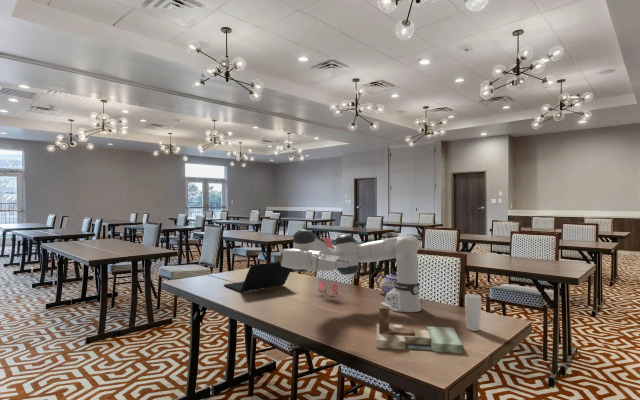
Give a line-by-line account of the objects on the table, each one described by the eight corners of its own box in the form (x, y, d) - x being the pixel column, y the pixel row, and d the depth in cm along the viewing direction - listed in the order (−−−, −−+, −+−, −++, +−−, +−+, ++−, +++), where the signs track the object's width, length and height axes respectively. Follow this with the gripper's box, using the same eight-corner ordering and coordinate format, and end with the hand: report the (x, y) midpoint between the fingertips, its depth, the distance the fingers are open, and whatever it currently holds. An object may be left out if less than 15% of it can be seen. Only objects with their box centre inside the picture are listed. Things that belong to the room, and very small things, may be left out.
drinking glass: (467, 326, 171) (467, 293, 171) (483, 329, 167) (483, 295, 167) (462, 329, 166) (462, 295, 166) (478, 333, 161) (478, 298, 162)
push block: (379, 333, 151) (379, 308, 151) (379, 328, 157) (379, 305, 157) (414, 335, 149) (414, 310, 149) (413, 330, 155) (413, 306, 155)
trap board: (376, 347, 144) (376, 339, 144) (376, 330, 164) (376, 323, 164) (463, 353, 139) (463, 345, 139) (452, 334, 159) (452, 327, 159)
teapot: (370, 294, 230) (370, 270, 231) (383, 290, 242) (383, 267, 242) (406, 301, 214) (406, 275, 214) (418, 296, 225) (418, 272, 225)
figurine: (316, 287, 248) (316, 235, 247) (348, 293, 231) (348, 237, 231) (301, 292, 236) (300, 237, 235) (333, 299, 219) (333, 239, 219)
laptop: (265, 280, 272) (266, 254, 272) (295, 290, 243) (296, 260, 243) (222, 286, 251) (223, 257, 251) (250, 297, 222) (250, 265, 222)
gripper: (320, 264, 171) (350, 267, 168) (311, 271, 150) (345, 275, 148) (321, 251, 171) (351, 253, 168) (312, 256, 151) (346, 259, 148)
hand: (348, 264), depth 158 cm, fingers open, 8 cm apart
